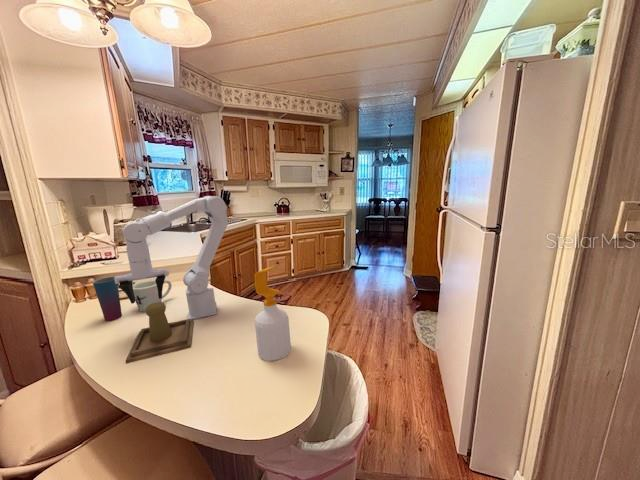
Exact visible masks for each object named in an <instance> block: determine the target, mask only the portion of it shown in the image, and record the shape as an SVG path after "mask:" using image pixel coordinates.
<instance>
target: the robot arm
mask: <svg viewBox="0 0 640 480" xmlns="http://www.w3.org/2000/svg"><path fill="white" fill-rule="evenodd" d="M227 209H228V206H227V204H226V202H225V201H224V199H223V198H222V197H220V196H218V195H213V196H212V195H205V196H202V197H199V198H195V199H192V200H190V201H188V202H186V203H184V204H182V205H179V206H177V207H176V208H173V209H172V210H169V211H167V212H165V211H162V210H158V211H156V210H152V211H151V214H149V215H147V216H144V217H142V218H139V217H137V218H136V219H135V222H134V221H133V222H129V223H126V224H125V225H124V226H123V228H122V236H124V238H125V245H126V249H125V250H126V254H127V259H128V263H129V269H130V273H126V274H123V275H122V274H121V275H116V276H115V278H114V280H115V284H119V285H118V288H119V289H120V290H122V291H123V293H124V294H125V295H126V296H127V298H128V299H129V301H130V303H131V304H135V303H136V301H135V296H134V292H133V282H134V281H140V280H141V281H142V280H148V279H152V278H153V279H156V280H155V281H156V285H157V289H158V297H159V299H161V298H162V295H163V288H164V284H165V283H164V280H166V277H169V275H170V270H169V269H168V268H165V269H163V268H162V269H153V265H152V260H151V256H150V255H151V254H150V249H149V245H148V243H147V236H152V235H154V234H156V233H158V232H160V231H163V230H164V229H168V228H170V226H171V224H172V221H175V220H178V219H181V218H183V217H185V216H189V214H193V213H196V212H197V213H198V212H199V213H200V212H201V213H204V214H206V215H207V217H208V219H209V221H210V223H211V226H210V227H209V229H208V231H207V234H206V236H205V239H204V241H203V244H202V245H201V248H200V249H199V250H200V251H199V253H198V255H197V258H196V260H195V261H194V263H193V264H192V265H191V266H190V268H189V269H188V271H187V272H186V273H185V274H184V275H183V278H182V279H183V284H184V285H185V286H186V287H187V288H186V290H185V296H186V300H187V307H188V308H187V309H188V315H187V319H190V321H191V320H195V319H200V318H205V317H209V316H215V315H217V307H218V305H217V301H216V298H215V297H216V296H215V291H214V287H211V288H210V287H208V286H209V277H210V268H211V265H212V263H213V260H214V258H215V255H216V253H217V250H218V249H219V246H220V243H221V241H222V239H223V236H224V234H225V232H226V230H227V227H228V224H229V221H228V211H227Z"/></svg>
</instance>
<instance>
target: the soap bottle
mask: <svg viewBox="0 0 640 480" xmlns="http://www.w3.org/2000/svg"><path fill="white" fill-rule="evenodd" d="M276 268H277V267H276V266H275V265H273V266H269V267H266V268H264V269H260V270H259V271H256V272H255V273H254V276H253V277H254V278H253V279H254V288H255V293H256V294H257V295H259V296H263V297H264V299H265V300H264V302H263V308H264V309H262V311H260V312H259V313H258V314H257V315H256V316H255V319H254V327H255V336H256V337H255V338H256V347H257V355H258V356H259V358H260V359H262V360H264V361H268V362H273V361H278V360H281V359H283V358H285V357H288V355H289V353H290V352H291V349H292V346H291V344H292V343H291V332H290V320H289V318H290V317H289V315H288V314H287V312H286V311H285V310H283V309H282V308H280V307H278V306H277V300H276V299H274V297H275V296H276V295H277V294H279V293H280V290H279V289H276V288H271V287H269V286H268V278H267V272H269V271H271V270H273V269H276Z"/></svg>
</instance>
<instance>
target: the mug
mask: <svg viewBox="0 0 640 480" xmlns="http://www.w3.org/2000/svg"><path fill="white" fill-rule="evenodd" d="M155 280H156V278H153V279H152V278H150V279H144V280H141V281H138V282H136V283H134V284H133V283H132V285H133V292H134V296H135V303H136V306H137V308H138V310H139V311H140V312H146V307H147V306H148V305H150V304H152V303H156V302H162V301H163V299H164V298H165V297H166V296H167V295H168V294H169V293H170V291H171V290H172V282H171V281H170V280H168V279H165V280H164V284H166V283H167V284H168V286H167V289H166V291H165V293H164V294H162V298H161V299H159V297H158V289H157V285H156V281H155ZM162 303H163V302H162Z"/></svg>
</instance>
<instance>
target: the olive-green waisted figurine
mask: <svg viewBox="0 0 640 480" xmlns="http://www.w3.org/2000/svg"><path fill="white" fill-rule="evenodd" d="M165 312H166V305H165V303H164V302H156V303H152V304H150V305H148V306H147V307H146V311H145V314H146V315H147V317H148V320H149V321H148V323H149V324H148V326H149V331H150V341H151V342H160V341H164V340H166V339H168V338H169V337H170V336H171V335H172V332H171V329H170V326H169V323H170V322H169V320H168V318H167V316H166V313H165Z"/></svg>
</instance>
